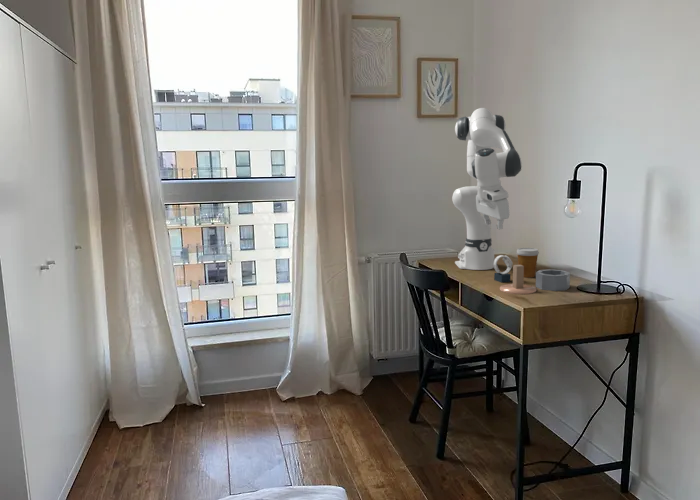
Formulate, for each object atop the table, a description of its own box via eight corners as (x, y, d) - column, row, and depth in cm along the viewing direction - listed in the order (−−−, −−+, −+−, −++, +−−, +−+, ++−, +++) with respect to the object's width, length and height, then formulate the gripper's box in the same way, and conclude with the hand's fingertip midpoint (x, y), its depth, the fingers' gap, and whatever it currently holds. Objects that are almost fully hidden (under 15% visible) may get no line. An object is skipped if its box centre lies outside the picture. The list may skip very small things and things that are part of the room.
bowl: (531, 284, 233) (531, 270, 232) (558, 282, 235) (558, 268, 234) (546, 291, 221) (547, 276, 220) (574, 289, 223) (575, 274, 222)
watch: (514, 281, 241) (514, 255, 239) (497, 282, 238) (498, 257, 237) (506, 278, 246) (507, 253, 244) (490, 280, 244) (490, 255, 242)
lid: (493, 287, 231) (494, 263, 229) (525, 285, 234) (526, 261, 232) (509, 295, 217) (510, 269, 216) (543, 292, 220) (543, 267, 218)
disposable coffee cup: (542, 277, 246) (543, 250, 244) (522, 279, 244) (523, 251, 242) (531, 273, 255) (531, 247, 253) (511, 274, 253) (512, 248, 251)
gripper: (470, 190, 225) (474, 223, 229) (495, 197, 206) (499, 233, 209) (484, 186, 226) (488, 219, 230) (510, 193, 207) (514, 229, 211)
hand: (494, 226), depth 219 cm, fingers open, 8 cm apart
